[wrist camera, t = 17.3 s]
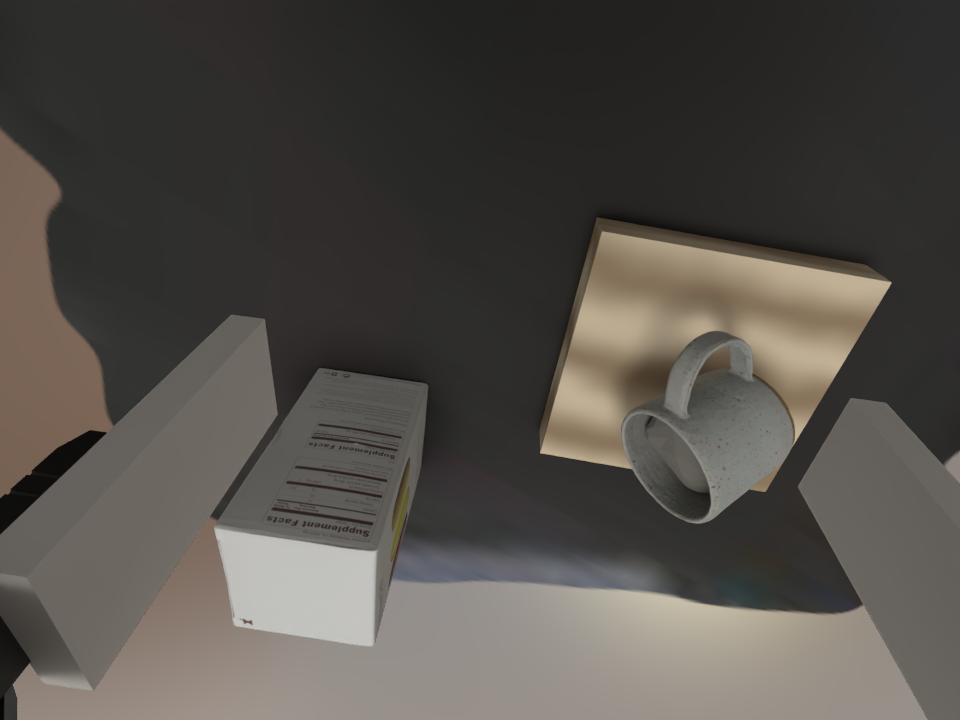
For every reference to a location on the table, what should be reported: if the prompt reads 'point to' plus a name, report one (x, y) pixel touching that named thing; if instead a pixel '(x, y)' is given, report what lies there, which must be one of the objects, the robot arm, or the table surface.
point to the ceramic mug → (708, 432)
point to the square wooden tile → (696, 327)
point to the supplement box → (326, 510)
